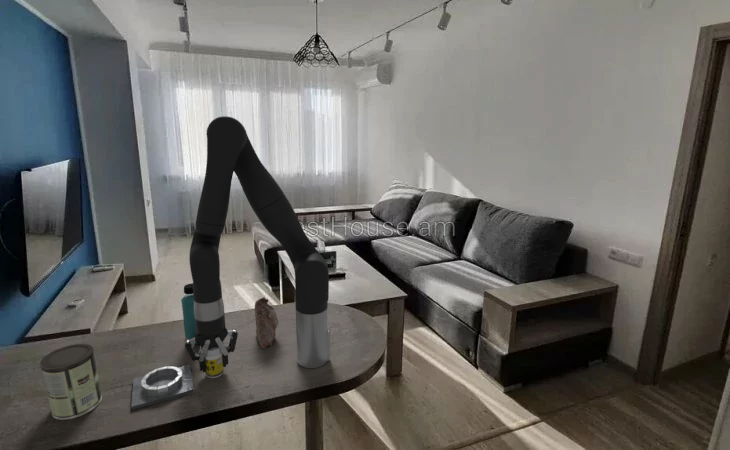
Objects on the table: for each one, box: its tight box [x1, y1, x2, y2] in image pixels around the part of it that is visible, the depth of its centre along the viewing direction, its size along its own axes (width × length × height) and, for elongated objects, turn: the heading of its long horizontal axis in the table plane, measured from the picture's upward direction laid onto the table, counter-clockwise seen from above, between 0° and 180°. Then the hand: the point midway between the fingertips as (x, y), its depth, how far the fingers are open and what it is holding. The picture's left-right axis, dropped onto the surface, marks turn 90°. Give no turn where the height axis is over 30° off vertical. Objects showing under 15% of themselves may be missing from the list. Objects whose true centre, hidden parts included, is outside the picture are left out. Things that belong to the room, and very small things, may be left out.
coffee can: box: [39, 343, 103, 421], centre depth 93 cm, size 10×10×14 cm
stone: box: [254, 296, 279, 349], centre depth 124 cm, size 15×7×10 cm
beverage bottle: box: [180, 282, 198, 345], centre depth 120 cm, size 6×7×20 cm
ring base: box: [130, 364, 195, 411], centre depth 102 cm, size 14×12×3 cm
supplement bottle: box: [204, 347, 225, 379], centre depth 107 cm, size 5×5×8 cm
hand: (214, 367), depth 108 cm, fingers closed on supplement bottle, 4 cm apart
